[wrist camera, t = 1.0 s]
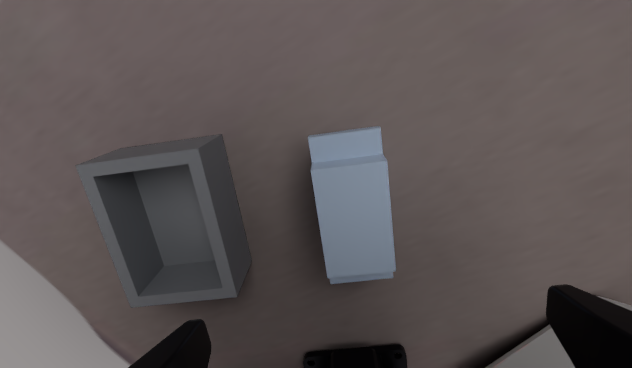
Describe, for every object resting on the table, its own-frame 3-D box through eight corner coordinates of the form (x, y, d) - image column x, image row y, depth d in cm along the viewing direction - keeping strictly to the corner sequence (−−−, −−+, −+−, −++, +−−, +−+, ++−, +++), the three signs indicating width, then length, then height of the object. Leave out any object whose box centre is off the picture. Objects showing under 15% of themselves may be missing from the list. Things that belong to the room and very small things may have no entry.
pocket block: (251, 260, 20) (237, 296, 17) (161, 270, 20) (130, 307, 17) (221, 134, 17) (198, 148, 14) (120, 148, 18) (75, 165, 15)
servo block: (382, 242, 19) (397, 292, 15) (330, 248, 19) (330, 298, 15) (370, 116, 17) (384, 132, 13) (312, 124, 17) (306, 143, 13)
